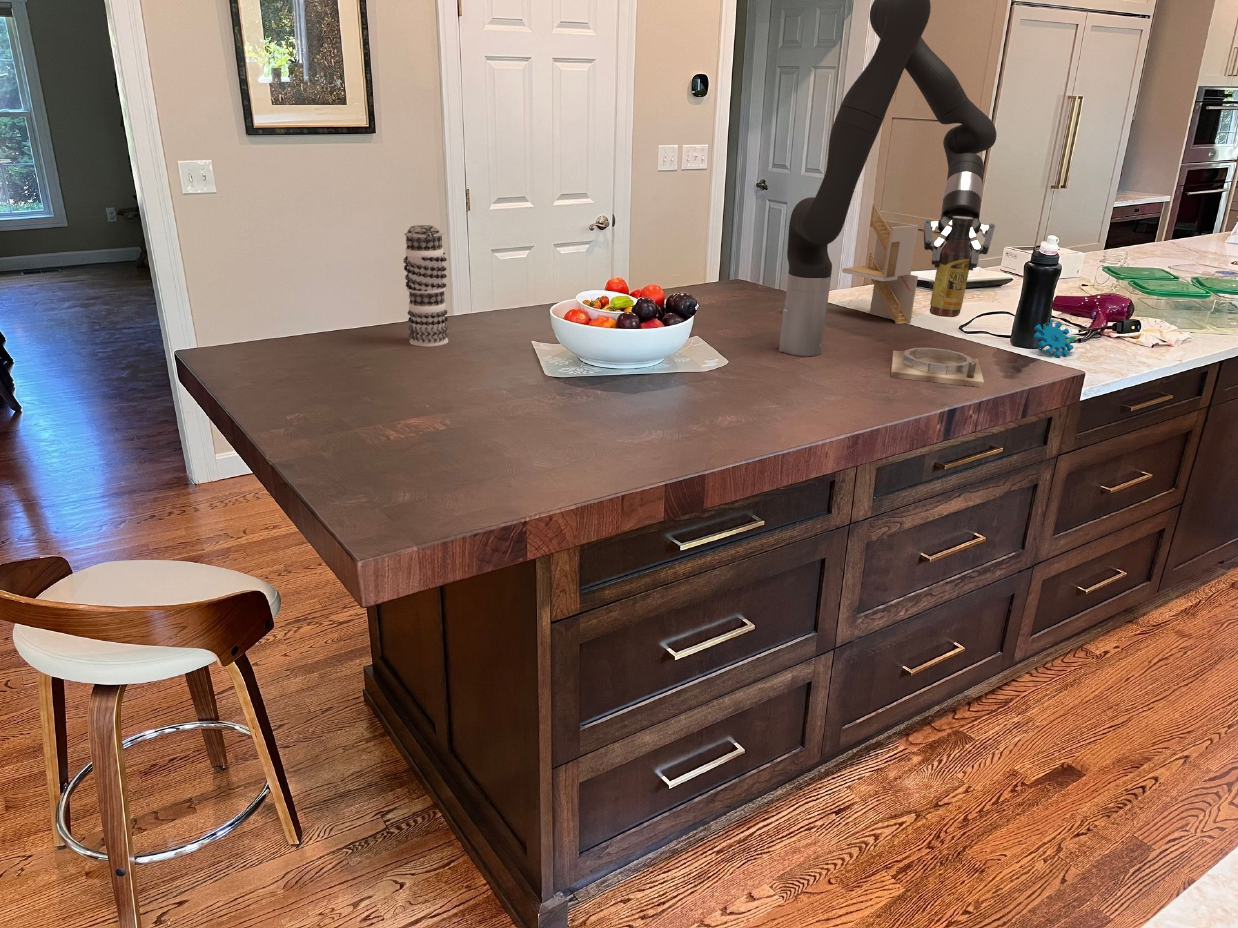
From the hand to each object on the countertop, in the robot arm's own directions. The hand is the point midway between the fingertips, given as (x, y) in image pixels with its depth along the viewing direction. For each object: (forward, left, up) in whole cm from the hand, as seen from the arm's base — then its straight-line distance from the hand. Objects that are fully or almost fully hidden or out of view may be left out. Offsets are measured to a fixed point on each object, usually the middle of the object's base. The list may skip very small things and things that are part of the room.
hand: (954, 266), depth 180 cm
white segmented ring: (0, +1, -21) cm, 21 cm away
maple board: (0, +2, -22) cm, 22 cm away
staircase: (-14, +46, -23) cm, 53 cm away
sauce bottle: (0, +2, -10) cm, 11 cm away
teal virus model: (+27, +29, -23) cm, 45 cm away
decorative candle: (-108, -21, -23) cm, 112 cm away
